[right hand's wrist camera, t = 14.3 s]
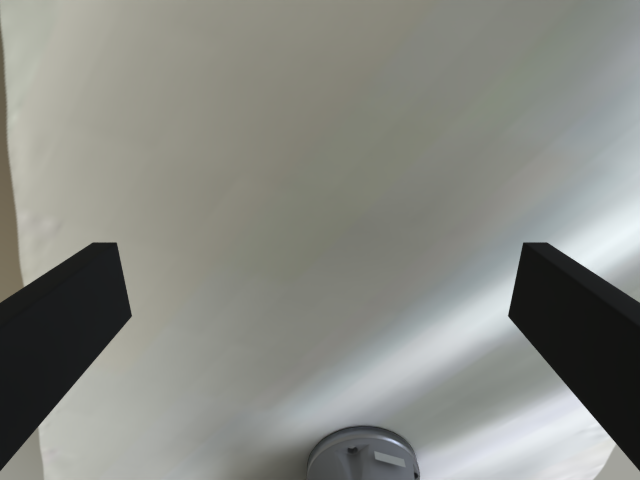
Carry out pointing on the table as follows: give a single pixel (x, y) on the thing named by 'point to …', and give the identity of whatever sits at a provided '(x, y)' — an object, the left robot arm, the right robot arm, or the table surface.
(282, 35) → the table surface
